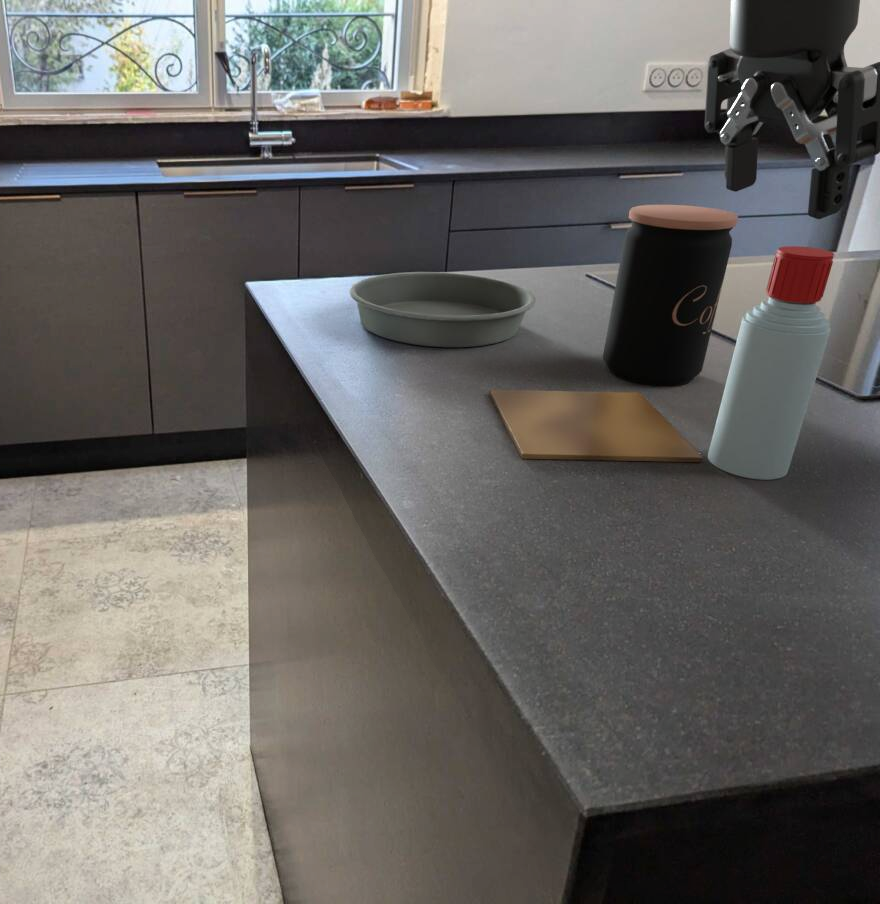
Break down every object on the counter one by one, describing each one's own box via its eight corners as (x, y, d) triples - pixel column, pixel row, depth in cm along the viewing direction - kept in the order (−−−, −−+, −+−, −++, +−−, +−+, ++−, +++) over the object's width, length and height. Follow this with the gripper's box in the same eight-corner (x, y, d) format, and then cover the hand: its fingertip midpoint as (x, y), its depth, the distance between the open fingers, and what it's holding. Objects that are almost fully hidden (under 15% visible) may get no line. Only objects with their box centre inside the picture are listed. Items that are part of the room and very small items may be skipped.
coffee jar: (666, 395, 89) (704, 224, 81) (582, 368, 96) (609, 210, 89) (718, 375, 94) (758, 214, 87) (634, 351, 102) (664, 201, 94)
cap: (804, 290, 69) (817, 246, 67) (831, 303, 65) (845, 256, 64) (756, 290, 69) (768, 245, 67) (780, 303, 65) (793, 256, 64)
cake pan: (564, 323, 113) (569, 290, 111) (467, 366, 97) (471, 329, 95) (416, 291, 128) (418, 262, 126) (311, 324, 112) (312, 291, 110)
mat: (638, 396, 88) (639, 392, 88) (701, 462, 74) (702, 457, 74) (488, 394, 89) (489, 389, 89) (521, 458, 74) (522, 453, 74)
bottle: (765, 448, 76) (823, 248, 68) (802, 480, 71) (869, 265, 63) (695, 447, 77) (744, 247, 69) (726, 479, 71) (783, 264, 63)
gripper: (945, -54, 49) (904, 207, 58) (767, -52, 60) (756, 164, 69) (832, -12, 48) (808, 244, 57) (675, -19, 60) (676, 195, 69)
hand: (780, 200), depth 63 cm, fingers open, 8 cm apart
